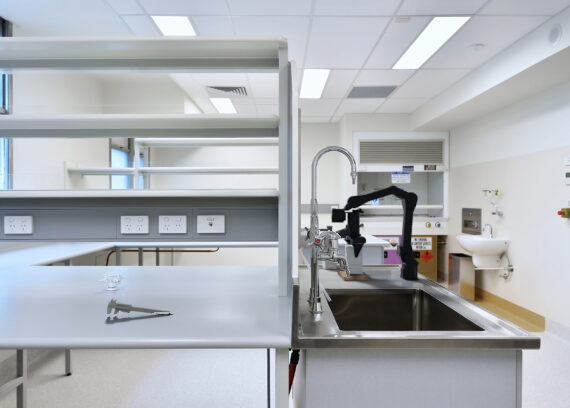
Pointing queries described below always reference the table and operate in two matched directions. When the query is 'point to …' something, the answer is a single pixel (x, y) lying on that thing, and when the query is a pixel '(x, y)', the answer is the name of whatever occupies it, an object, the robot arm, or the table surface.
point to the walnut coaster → (353, 276)
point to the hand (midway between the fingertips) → (353, 256)
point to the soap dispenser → (326, 263)
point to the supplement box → (354, 260)
